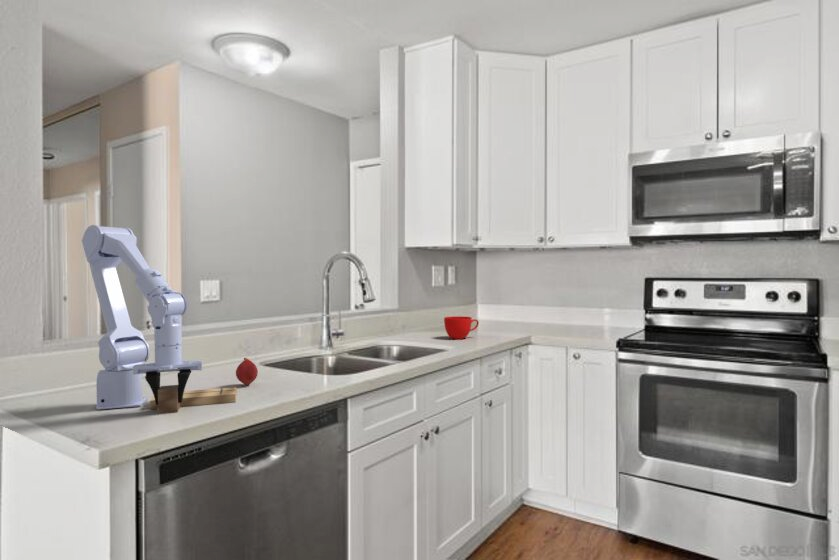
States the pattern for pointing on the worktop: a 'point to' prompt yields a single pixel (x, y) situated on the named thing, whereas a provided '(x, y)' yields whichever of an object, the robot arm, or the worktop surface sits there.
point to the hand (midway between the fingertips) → (169, 402)
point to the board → (204, 397)
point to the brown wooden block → (168, 399)
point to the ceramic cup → (459, 326)
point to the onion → (246, 372)
